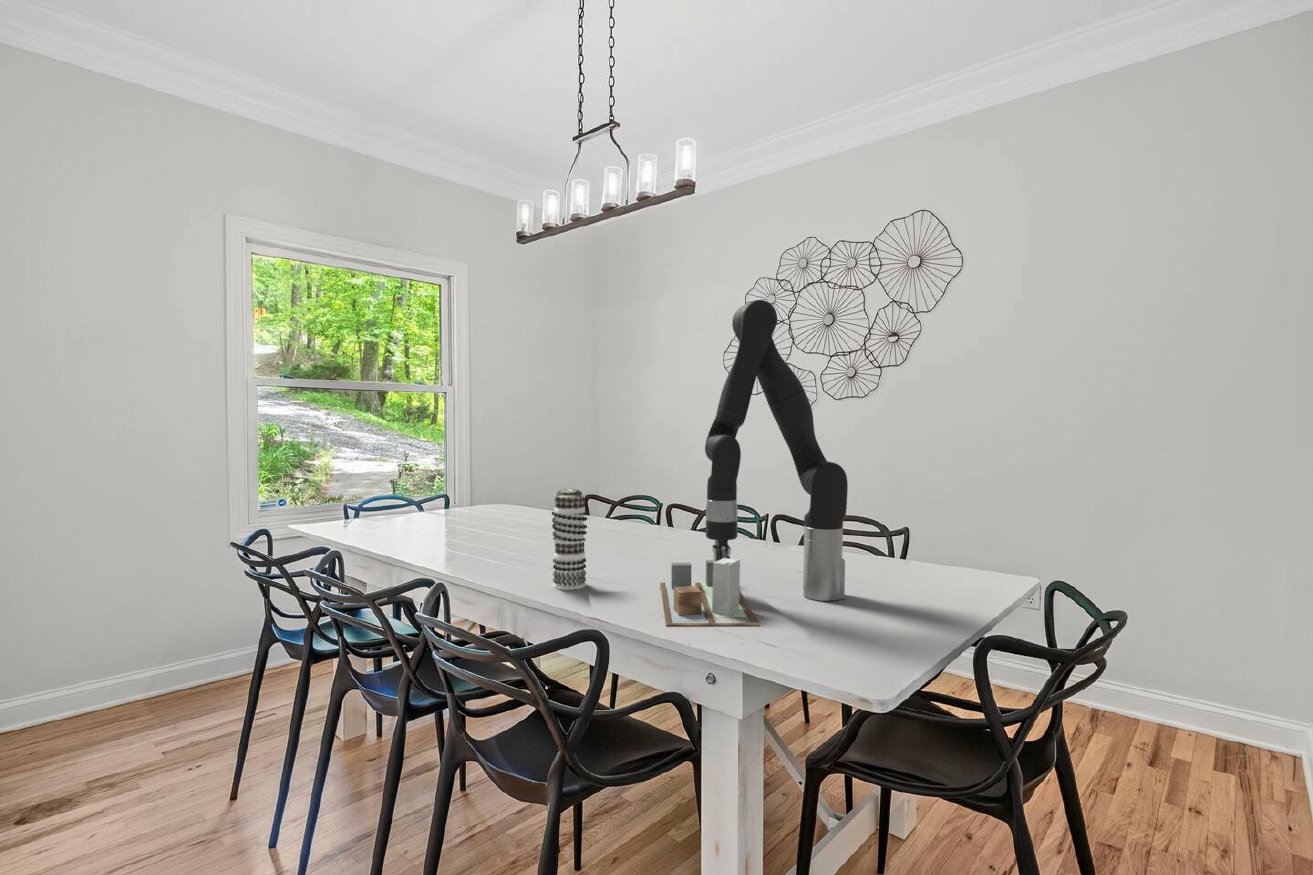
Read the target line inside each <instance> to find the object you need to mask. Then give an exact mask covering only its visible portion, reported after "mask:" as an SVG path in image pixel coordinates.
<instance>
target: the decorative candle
mask: <svg viewBox="0 0 1313 875" xmlns="http://www.w3.org/2000/svg"><path fill="white" fill-rule="evenodd" d="M585 496H586V494H583V492H582V491H581V490H580V489H578V488H560V489H558V491H556V494H554V495H553V497H555V498H554V502H555V503H554V504H555V505H554V511H551V515H552V516H553V517H552V518H551V522H552V523H553V524H552V526H551V529H553V530H554V531H552V536H553V538H552V540H553V543H555V544H554V558H553V560H552V562H553V563H554V564H553V565H552V568H553V569H554V571H553V573H552V576H553V578H552V582H553V584H552V586H553V587H552V588H554V589H557V590H561V591H562V590H564V591H566V590H567V591H570V590H571V591H572V590H580V589H583V588H585V587H586V586H587V584H586V582H587V577H586V576H587V571H586V570H585V569H586V568H587V565H586V564H585V563H586V562H587V558H586V552H585V542H587V541H586V540H587V539H586V537H585V535H587V533H588V532H587V531H586V529H587V528H588V526H587V525H586V524H585V522H586V521H588V518H587V515H588V514H589V512H588V511H586V506H585Z"/></svg>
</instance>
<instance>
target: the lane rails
mask: <svg viewBox="0 0 1313 875" xmlns="http://www.w3.org/2000/svg"><path fill="white" fill-rule="evenodd" d="M659 586H660V588H659V589H660V591H661V599H662V606H663V613H664V622H665V627H667V628H668V627H670V628H671V627H673V628H675V627H683V628H684V627H760V625H761V624H760V623H759V621H758V619H757V618H756V616H755V614H754V612H753V610H752V609H751V606H750V605H749V604H748V602H747V600H746V599H745V597H744V595H743V594H742V592H741V589H739V603H740V605H742V606H741V607H742V608H743V609H744V612H745V614H746V616H748V619H749V620H750V622H716V621H715V617H714V614H713V613H712V609H711V606H709V605H710V604H709V601H708V599H707V596H706V593H705V591H704V588H702V583H701V582H695V585H694V586H696V587H697V588H698V589H699V590H700V591H702V606H703V607H702V608H703V609H704V614H705V615H706V619H707V622H672V618H671V611H670V605H669V604H670V603H669V598H668V591H667V588H666V587H667V586H666V582H660V584H659Z"/></svg>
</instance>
